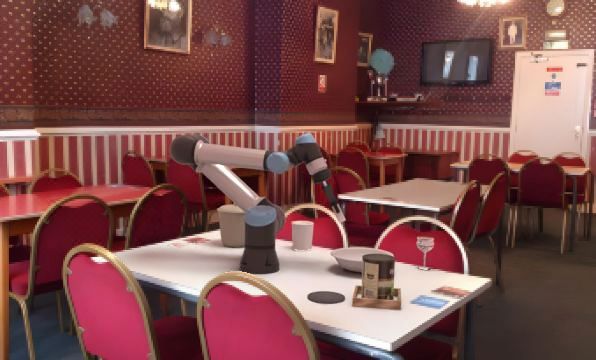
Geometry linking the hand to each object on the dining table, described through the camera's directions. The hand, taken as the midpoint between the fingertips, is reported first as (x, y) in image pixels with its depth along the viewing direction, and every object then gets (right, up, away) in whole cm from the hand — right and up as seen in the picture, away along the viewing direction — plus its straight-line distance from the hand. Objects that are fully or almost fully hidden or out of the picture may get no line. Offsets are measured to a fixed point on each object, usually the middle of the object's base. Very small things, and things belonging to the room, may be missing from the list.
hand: (342, 221), depth 220 cm
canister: (-45, -14, +40) cm, 62 cm away
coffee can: (+8, -22, -39) cm, 46 cm away
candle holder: (-15, -15, +35) cm, 41 cm away
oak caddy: (+8, -22, -39) cm, 46 cm away
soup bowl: (+7, -19, -1) cm, 20 cm away
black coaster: (-8, -22, -38) cm, 44 cm away
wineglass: (+32, -19, +5) cm, 38 cm away
